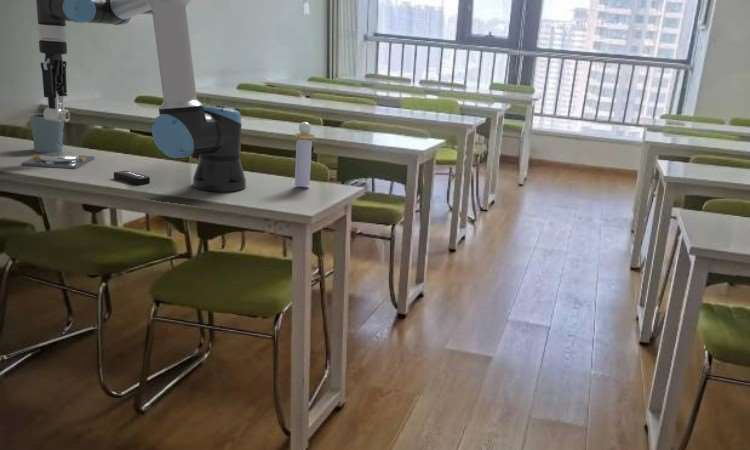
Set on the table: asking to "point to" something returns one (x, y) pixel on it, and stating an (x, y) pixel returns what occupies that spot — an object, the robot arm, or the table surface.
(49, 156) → the lock plate
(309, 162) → the perfume bottle
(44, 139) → the blue-grey cup
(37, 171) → the table surface
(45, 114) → the valve
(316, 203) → the table surface
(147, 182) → the multiport hub
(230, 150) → the robot arm
